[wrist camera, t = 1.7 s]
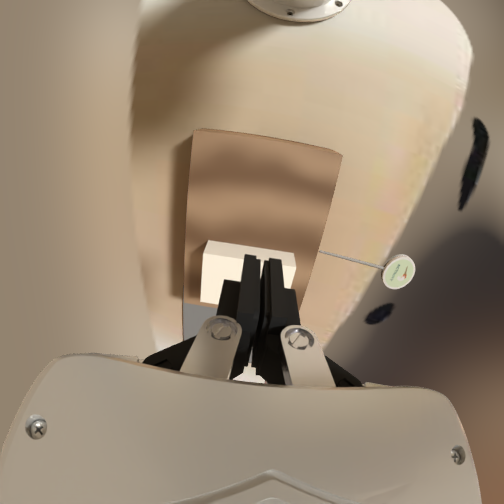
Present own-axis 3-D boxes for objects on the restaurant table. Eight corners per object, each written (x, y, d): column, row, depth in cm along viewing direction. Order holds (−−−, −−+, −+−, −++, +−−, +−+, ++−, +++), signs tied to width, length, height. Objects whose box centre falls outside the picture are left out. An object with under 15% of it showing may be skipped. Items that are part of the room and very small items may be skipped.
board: (202, 128, 26) (193, 130, 23) (332, 149, 27) (342, 155, 23) (190, 283, 36) (183, 302, 32) (293, 299, 36) (296, 318, 33)
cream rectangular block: (208, 240, 28) (203, 253, 26) (293, 253, 29) (296, 267, 26) (204, 286, 31) (200, 301, 29) (281, 297, 31) (283, 313, 29)
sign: (327, 233, 31) (421, 262, 32) (326, 230, 32) (418, 259, 33) (312, 269, 34) (404, 291, 35) (311, 266, 35) (402, 288, 36)
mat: (183, 285, 36) (183, 287, 36) (299, 302, 37) (300, 304, 36) (184, 351, 43) (184, 352, 43) (278, 364, 43) (278, 365, 43)
